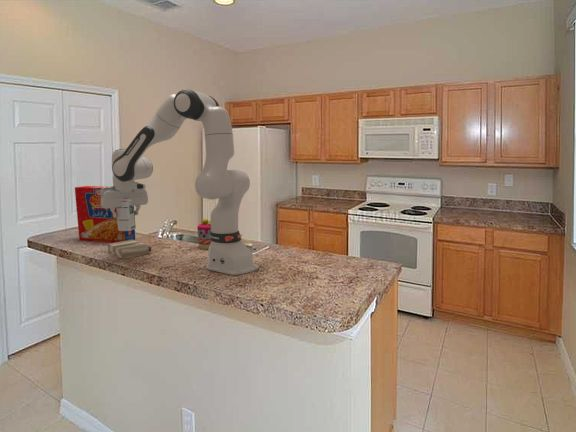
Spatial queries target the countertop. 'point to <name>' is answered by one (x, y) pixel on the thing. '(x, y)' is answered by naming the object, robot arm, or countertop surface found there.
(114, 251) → the dock
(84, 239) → the pasta box
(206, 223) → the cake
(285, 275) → the countertop surface
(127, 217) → the syrup box
